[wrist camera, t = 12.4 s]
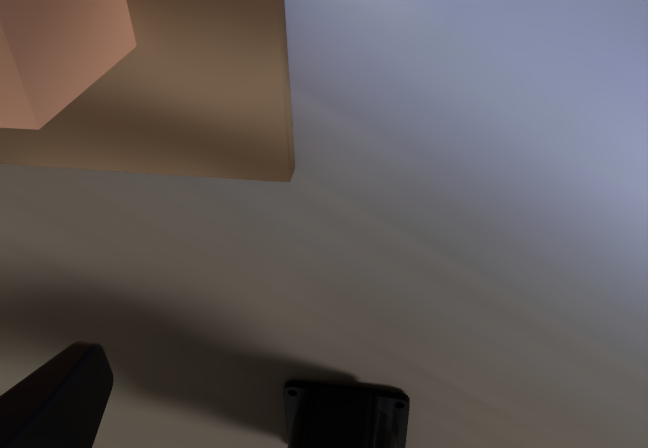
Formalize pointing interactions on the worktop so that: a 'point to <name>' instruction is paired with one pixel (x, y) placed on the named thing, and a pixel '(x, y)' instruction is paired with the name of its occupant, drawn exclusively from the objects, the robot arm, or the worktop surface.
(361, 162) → the worktop surface
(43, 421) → the robot arm
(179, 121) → the walnut board
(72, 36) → the terracotta cube
